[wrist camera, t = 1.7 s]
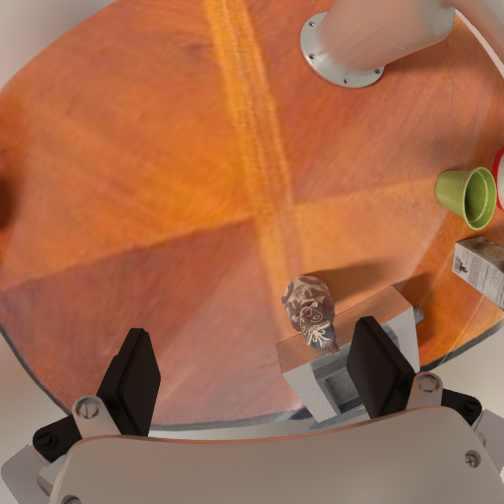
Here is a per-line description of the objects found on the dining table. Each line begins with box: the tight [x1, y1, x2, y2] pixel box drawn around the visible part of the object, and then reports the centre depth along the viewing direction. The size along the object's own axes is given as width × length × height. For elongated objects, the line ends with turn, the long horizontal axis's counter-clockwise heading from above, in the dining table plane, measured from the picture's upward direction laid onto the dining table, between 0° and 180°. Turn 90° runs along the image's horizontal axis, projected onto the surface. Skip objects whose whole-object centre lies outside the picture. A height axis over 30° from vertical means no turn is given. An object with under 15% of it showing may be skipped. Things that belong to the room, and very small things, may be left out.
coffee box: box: [452, 236, 504, 311], centre depth 33 cm, size 9×6×16 cm
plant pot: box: [435, 167, 497, 230], centre depth 32 cm, size 9×9×9 cm
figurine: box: [282, 275, 340, 356], centre depth 35 cm, size 7×7×12 cm
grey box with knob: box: [276, 285, 424, 422], centre depth 41 cm, size 25×18×9 cm
